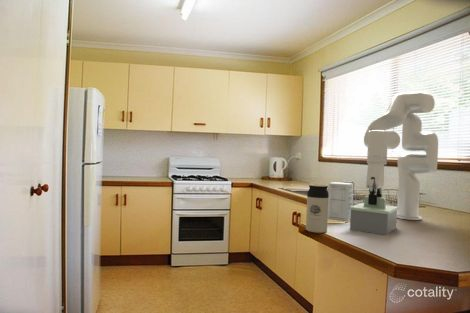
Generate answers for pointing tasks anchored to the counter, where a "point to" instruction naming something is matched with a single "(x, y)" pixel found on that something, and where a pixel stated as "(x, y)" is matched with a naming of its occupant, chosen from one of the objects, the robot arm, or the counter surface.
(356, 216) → the tub
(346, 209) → the supplement box
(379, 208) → the lid
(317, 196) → the travel mug
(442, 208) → the counter surface
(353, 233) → the counter surface
